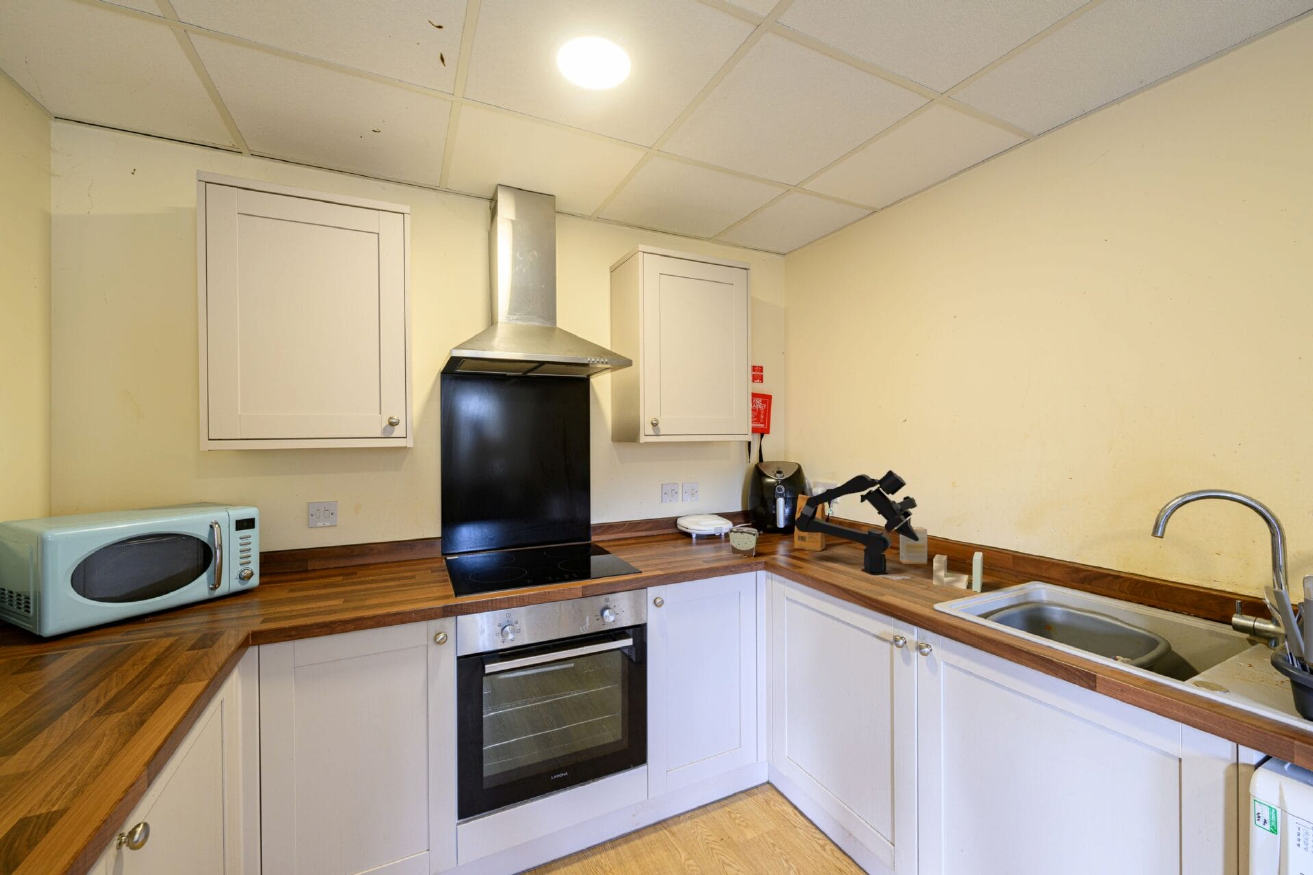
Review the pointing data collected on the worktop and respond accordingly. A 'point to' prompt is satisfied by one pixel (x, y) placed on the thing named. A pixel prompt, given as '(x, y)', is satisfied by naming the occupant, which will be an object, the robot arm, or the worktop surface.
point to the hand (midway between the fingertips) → (918, 540)
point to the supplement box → (914, 548)
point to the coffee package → (805, 538)
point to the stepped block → (947, 574)
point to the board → (977, 571)
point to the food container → (743, 540)
